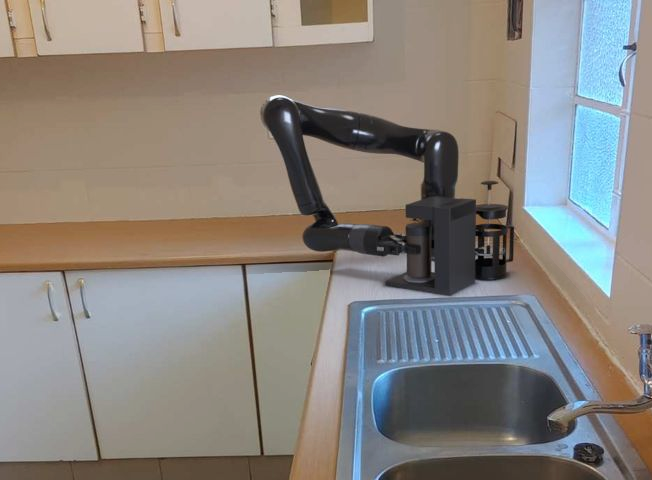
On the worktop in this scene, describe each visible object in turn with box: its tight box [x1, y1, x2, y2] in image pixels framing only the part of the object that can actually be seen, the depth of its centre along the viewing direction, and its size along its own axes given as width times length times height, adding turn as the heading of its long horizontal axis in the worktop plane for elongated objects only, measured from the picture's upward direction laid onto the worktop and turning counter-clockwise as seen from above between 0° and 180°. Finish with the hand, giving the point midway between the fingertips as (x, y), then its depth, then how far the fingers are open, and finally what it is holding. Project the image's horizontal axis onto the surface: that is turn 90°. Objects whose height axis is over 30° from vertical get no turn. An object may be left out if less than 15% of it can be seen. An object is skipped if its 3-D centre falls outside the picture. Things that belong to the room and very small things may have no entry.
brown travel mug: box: [405, 222, 432, 277], centre depth 182 cm, size 6×6×12 cm
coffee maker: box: [385, 197, 477, 297], centre depth 179 cm, size 18×12×20 cm, turn 52°
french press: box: [475, 180, 515, 281], centre depth 183 cm, size 12×9×23 cm
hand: (427, 246), depth 180 cm, fingers closed on brown travel mug, 6 cm apart
